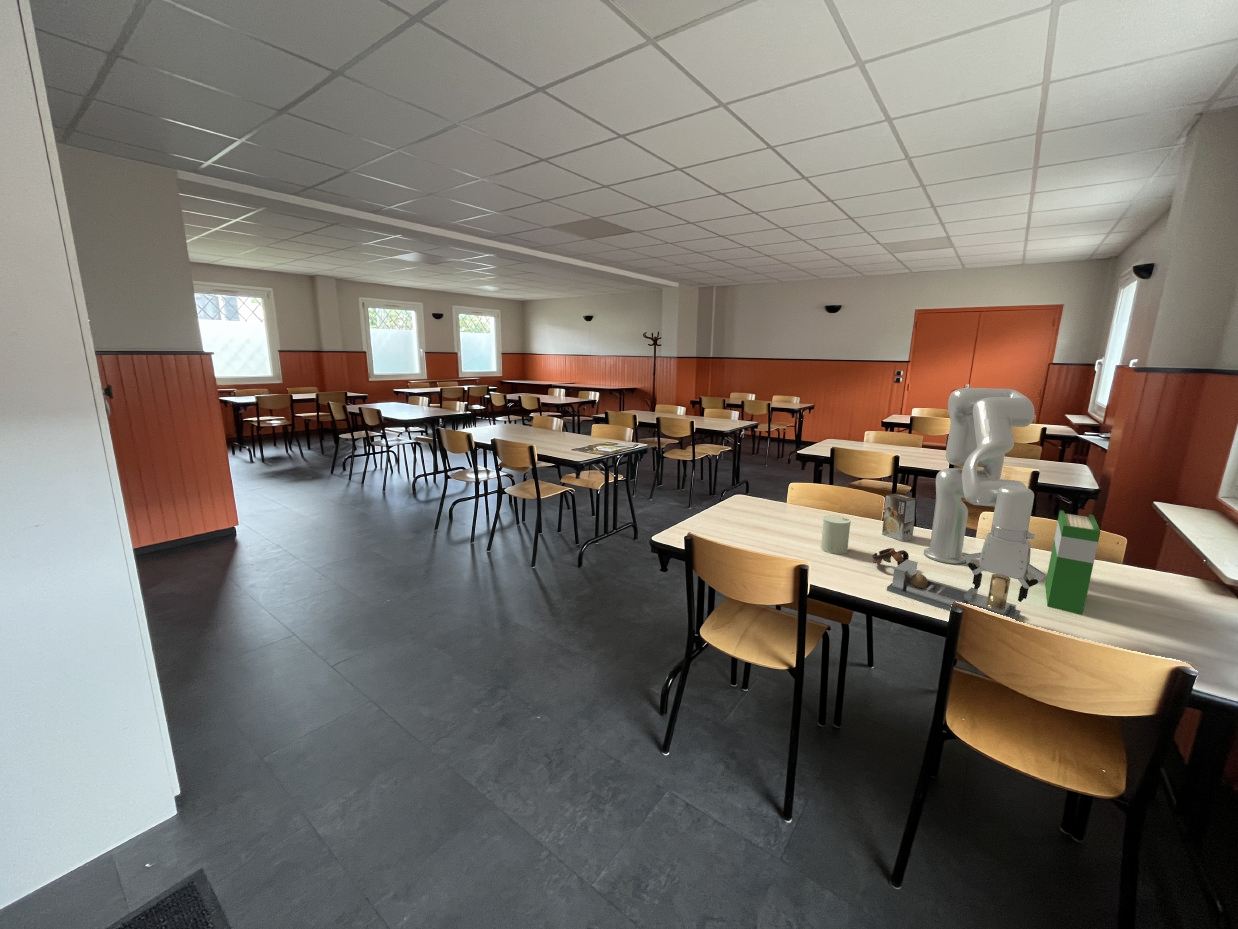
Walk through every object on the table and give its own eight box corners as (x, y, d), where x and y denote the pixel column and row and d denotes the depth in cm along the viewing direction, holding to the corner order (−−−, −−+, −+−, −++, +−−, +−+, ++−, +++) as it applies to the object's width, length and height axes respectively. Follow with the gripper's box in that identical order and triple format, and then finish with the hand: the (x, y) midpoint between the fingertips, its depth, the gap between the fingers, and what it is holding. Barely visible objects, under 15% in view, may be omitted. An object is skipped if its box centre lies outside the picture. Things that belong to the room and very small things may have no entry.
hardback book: (1045, 584, 156) (1059, 510, 151) (1077, 591, 152) (1093, 514, 147) (1047, 606, 143) (1063, 525, 137) (1082, 614, 138) (1100, 531, 133)
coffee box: (913, 539, 194) (918, 499, 191) (902, 541, 191) (907, 501, 188) (891, 531, 202) (896, 493, 199) (880, 534, 200) (885, 494, 196)
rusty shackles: (895, 580, 160) (883, 556, 161) (874, 581, 169) (862, 558, 170) (921, 565, 164) (910, 541, 165) (899, 567, 173) (888, 544, 174)
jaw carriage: (970, 598, 144) (975, 565, 142) (1009, 610, 138) (1015, 576, 135) (962, 606, 140) (967, 572, 137) (1002, 619, 133) (1009, 584, 131)
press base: (902, 578, 160) (904, 557, 158) (1019, 614, 138) (1024, 590, 136) (886, 590, 152) (889, 568, 151) (1008, 630, 130) (1013, 604, 129)
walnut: (912, 583, 154) (914, 570, 153) (928, 588, 151) (930, 574, 150) (907, 587, 151) (909, 574, 150) (923, 592, 148) (925, 579, 147)
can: (852, 554, 179) (855, 522, 177) (826, 554, 180) (829, 521, 177) (841, 544, 188) (844, 514, 186) (816, 544, 189) (819, 513, 186)
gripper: (1054, 538, 128) (1042, 600, 132) (974, 522, 141) (965, 579, 145) (1048, 545, 123) (1036, 610, 127) (965, 528, 136) (956, 587, 140)
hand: (998, 593), depth 136 cm, fingers open, 9 cm apart
